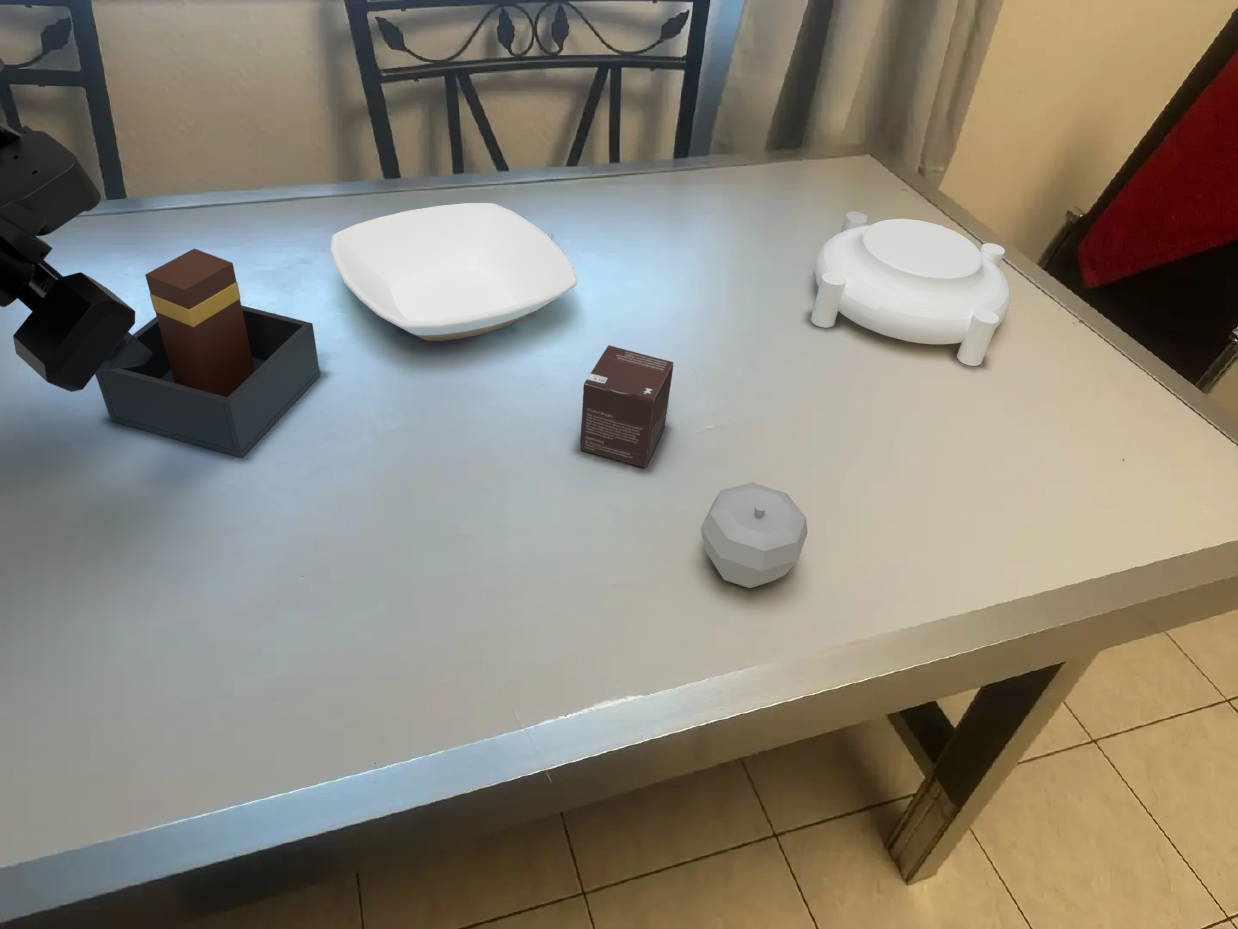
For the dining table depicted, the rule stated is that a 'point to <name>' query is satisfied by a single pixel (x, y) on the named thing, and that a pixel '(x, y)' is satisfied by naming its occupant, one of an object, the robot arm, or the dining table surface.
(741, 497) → the apple
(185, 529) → the dining table surface
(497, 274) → the bowl
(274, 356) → the open storage bin
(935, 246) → the round stand with pegs
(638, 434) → the box
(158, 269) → the chocolate carton
